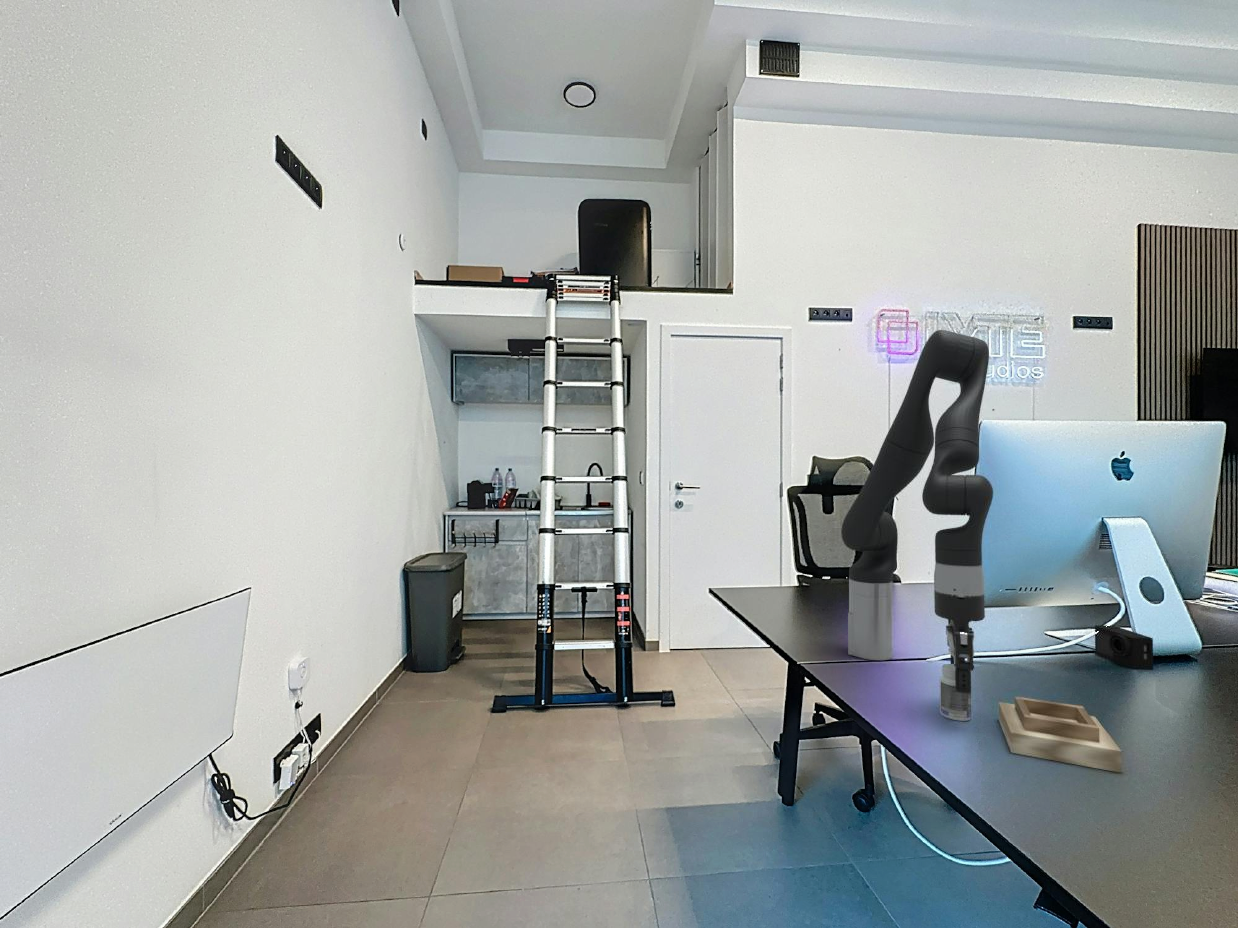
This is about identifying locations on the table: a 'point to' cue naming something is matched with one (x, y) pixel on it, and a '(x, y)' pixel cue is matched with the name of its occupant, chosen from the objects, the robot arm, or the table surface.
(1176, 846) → the table surface
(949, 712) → the pill bottle
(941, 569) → the robot arm
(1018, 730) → the wooden base
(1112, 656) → the digital camera
